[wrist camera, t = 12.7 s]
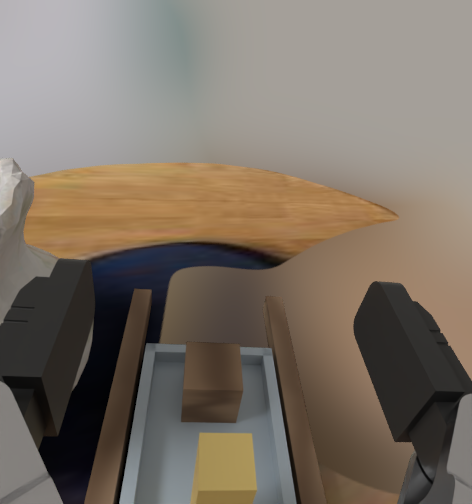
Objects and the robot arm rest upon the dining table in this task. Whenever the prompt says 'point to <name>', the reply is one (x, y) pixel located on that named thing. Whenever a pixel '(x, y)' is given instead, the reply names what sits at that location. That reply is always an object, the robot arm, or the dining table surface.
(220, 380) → the block
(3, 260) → the ceramic pitcher
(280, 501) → the shallow grey tray
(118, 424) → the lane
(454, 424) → the robot arm
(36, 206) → the dining table surface
